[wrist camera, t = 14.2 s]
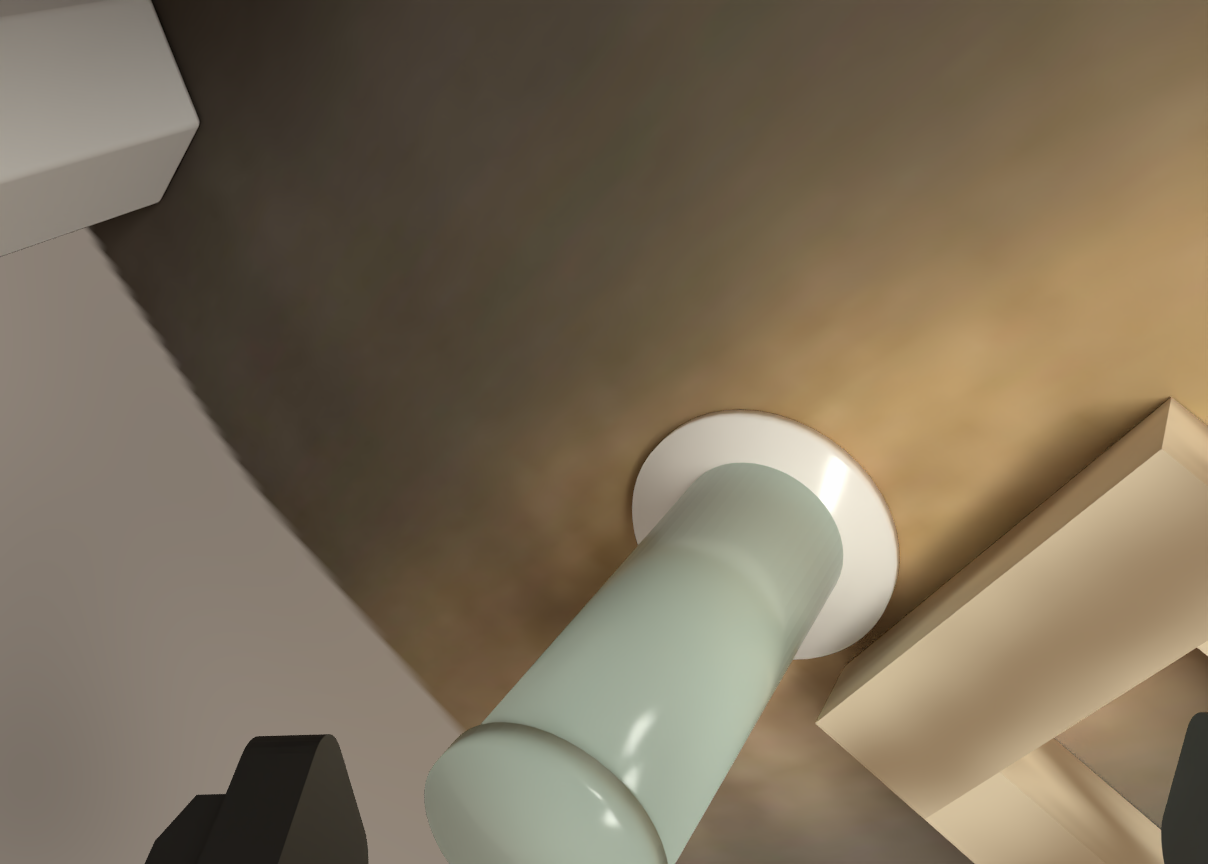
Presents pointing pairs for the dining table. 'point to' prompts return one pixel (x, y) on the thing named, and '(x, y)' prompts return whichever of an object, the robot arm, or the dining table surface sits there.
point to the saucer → (819, 469)
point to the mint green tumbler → (645, 685)
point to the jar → (85, 115)
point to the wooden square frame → (1041, 658)
